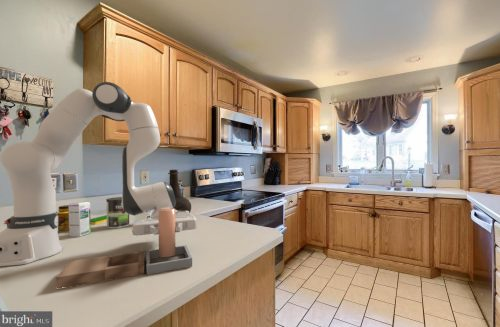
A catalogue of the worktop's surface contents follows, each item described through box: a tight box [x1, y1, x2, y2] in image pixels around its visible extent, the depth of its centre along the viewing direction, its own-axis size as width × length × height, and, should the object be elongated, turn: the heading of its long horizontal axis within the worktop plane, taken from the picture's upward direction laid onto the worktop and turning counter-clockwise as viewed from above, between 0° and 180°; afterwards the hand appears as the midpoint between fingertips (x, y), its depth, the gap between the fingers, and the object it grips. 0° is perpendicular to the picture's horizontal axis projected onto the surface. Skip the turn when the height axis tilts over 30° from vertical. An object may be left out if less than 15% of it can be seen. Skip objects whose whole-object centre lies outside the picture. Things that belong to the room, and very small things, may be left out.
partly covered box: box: [55, 250, 146, 289], centre depth 69 cm, size 20×11×3 cm, turn 113°
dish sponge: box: [91, 214, 107, 226], centre depth 133 cm, size 7×14×2 cm, turn 163°
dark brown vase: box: [167, 169, 192, 214], centre depth 136 cm, size 18×18×28 cm
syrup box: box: [68, 201, 92, 238], centre depth 107 cm, size 6×6×14 cm
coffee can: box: [105, 196, 130, 229], centre depth 122 cm, size 10×10×14 cm
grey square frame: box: [146, 244, 193, 275], centre depth 75 cm, size 13×13×2 cm
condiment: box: [57, 204, 70, 234], centre depth 115 cm, size 7×8×12 cm
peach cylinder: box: [158, 208, 177, 258], centre depth 75 cm, size 5×5×14 cm
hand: (167, 230), depth 75 cm, fingers closed on peach cylinder, 5 cm apart
